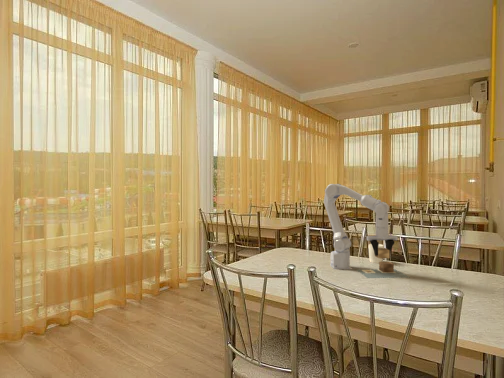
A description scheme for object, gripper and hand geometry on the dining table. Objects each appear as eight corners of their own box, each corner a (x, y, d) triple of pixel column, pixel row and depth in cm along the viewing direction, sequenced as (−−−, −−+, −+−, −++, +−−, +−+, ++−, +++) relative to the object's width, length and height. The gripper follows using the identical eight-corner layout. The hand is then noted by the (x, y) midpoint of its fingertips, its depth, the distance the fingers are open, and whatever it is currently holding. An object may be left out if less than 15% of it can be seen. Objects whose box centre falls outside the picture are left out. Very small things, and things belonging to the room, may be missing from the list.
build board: (367, 279, 149) (367, 278, 149) (355, 270, 164) (355, 269, 164) (410, 278, 149) (410, 277, 149) (394, 270, 164) (394, 268, 164)
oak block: (379, 258, 155) (379, 250, 155) (374, 256, 160) (374, 248, 160) (389, 258, 155) (389, 250, 155) (384, 256, 160) (385, 247, 160)
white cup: (381, 261, 183) (381, 243, 183) (385, 264, 175) (385, 246, 175) (366, 261, 184) (366, 243, 184) (370, 264, 176) (370, 246, 176)
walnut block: (383, 272, 158) (383, 264, 158) (379, 269, 163) (379, 261, 163) (393, 272, 158) (393, 264, 158) (388, 269, 163) (388, 261, 163)
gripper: (370, 228, 153) (370, 257, 153) (400, 228, 154) (400, 256, 154) (364, 226, 160) (364, 254, 160) (393, 226, 161) (393, 253, 161)
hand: (381, 255), depth 158 cm, fingers closed on oak block, 5 cm apart
